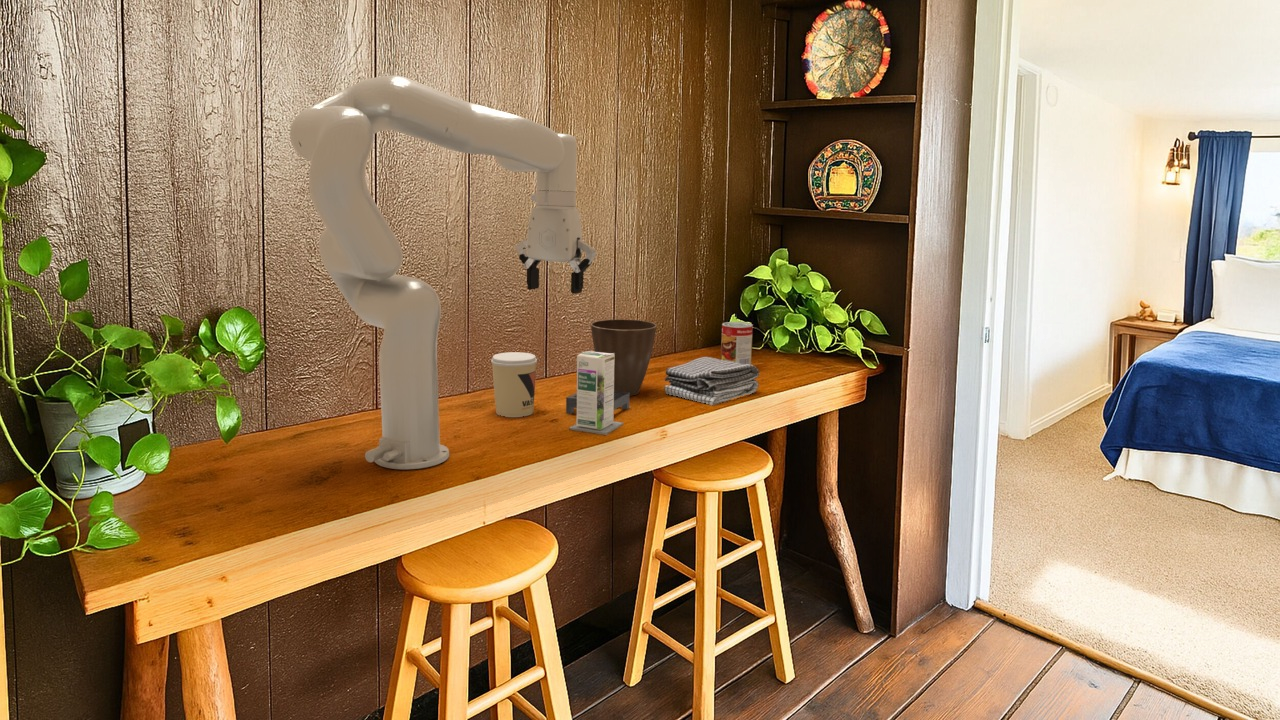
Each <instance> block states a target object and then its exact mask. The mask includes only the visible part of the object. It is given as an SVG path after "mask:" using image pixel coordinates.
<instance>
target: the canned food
mask: <svg viewBox="0 0 1280 720" xmlns="http://www.w3.org/2000/svg"><path fill="white" fill-rule="evenodd" d="M753 326H754V324H752V323H750V322H742V321H729V322H728V321H726V322H722V324H721V343H720V344H721V346H720V360H726V361H733V362H737V363H740V364H751V365H752V350H753V349H752V348H753V329H754V327H753Z"/></svg>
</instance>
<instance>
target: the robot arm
mask: <svg viewBox="0 0 1280 720" xmlns="http://www.w3.org/2000/svg"><path fill="white" fill-rule="evenodd" d="M385 131H386V132H387V131H394V132H397V133H400V134H402V135H403V134H404V135H407V136H409V137H412V138H415V139H418V140H422V141H424V142H427V143H431V144H433V145H436V146H439V147H441V148H444V149H447V150H449V151H454V152H457V153H463V154H468V155H469V154H473V155H484V156H485V155H486V156H492V157H493V156H494V159H495V160H496V162H497V164H498V165H499V166H501V167H502V168H503V169H504V170H507V171H509V172H513V173H514V172H515V173H536V175H535V176H536V177H535V179H536V181H535V183H536V185H535V187H536V189H535V193H532V194H531V195H530V199H531V201H533V202H535V207H532V208H531V210H530V215H529V220H528V227H527V237H526V239H524V240H522V241H520V242H518V243H516V244H515V250H516V252H517V255H518V259H519V260H520V261H521V263H522V264H523V267H524V268H525V269H526V284H527V290H530V291H531V290H537V289H539V288H540V268H539V267H537V266H538V265H539V264H540V263H541V262H543V261H544V262H555V263H566V262H567V263H568V264H569V266H570V267H571V269H573V272H571V276H570V293H571V294H581V293H582V292H583V288H584V278H585V277H584V273H585V272H586V271H587V269H588V268H589V267H590V266H591V265H592V263H593V261H594V259H595V257H596V255H597V249H596V248H594V247H593V246H590V245H589V244H588V243H586V242H585V241H584V240H583V234H582V233H583V231H582V222H581V215H580V211H579V209H578V208H577V206H576V205H577V169H578V165H577V164H578V141H577V139H576V137H575V136H574V135H572V134H569V133H558V132H555V131H554V130H553V129H552V128H550V127H547V126H545V125H543V124H540V123H538V122H536V121H533V120H530V119H528V118H525V117H523V116H520V115H516V114H512V113H510V112H505V111H501V110H498V109H494V108H490V107H489V106H488V107H487V106H484V105H481V104H477V103H472V102H469V101H466V100H464V99H461V98H458V97H456V96H453V95H451V94H448V93H447V92H444V91H441V90H439V89H436V88H434V87H431V86H429V85H426V84H423V83H421V82H419V81H416V80H413V79H411V78H408V77H405V76H402V75H394V74H393V75H385V76H377V77H370V78H366V79H364V80H361V81H359V82H357V83H355V84H353V85H351V86H348V87H347V88H345V89H343V90H341V91H340V92H337V93H334V94H333V95H331V96H330V97H328V98H326V99H324V100H321V101H319V102H317V103H315V104H313V105H311V106H309V107H307V108H305V109H303V110H302V111H301V112H299V114H297V115H296V117H295V118H294V119H293V120H292V123H291V124H290V129H289V138H290V139H289V140H290V142H291V145H292V147H293V150H295V152H296V153H297V154H298V155H299V156H300V157H301V158H303V159H305V160H306V161H308V162H310V166H309V173H308V174H309V175H308V190H309V196H310V199H311V202H312V204H313V207H314V209H315V211H316V213H317V215H318V216H319V218H320V219H321V221H322V223H323V225H324V227H325V228H324V230H323V231H322V233H321V235H320V238H319V243H318V250H319V251H318V252H319V256H320V259H321V261H322V264H323V266H324V268H325V269H326V272H327V274H328V275H329V276H330V278H331V279H332V281H333V283H334V284H335V285H336V287H337V288H338V290H339V291H340V293H341V294H342V296H343V297H344V299H345V300H346V302H347V303H348V305H349V307H351V309H352V311H353V312H354V313H355V315H357V317H358V318H359V319H361V320H362V322H364V323H366V324H369V325H370V326H373V327H376V328H380V329H383V336H382V339H381V344H380V348H379V354H378V371H379V384H380V385H379V387H380V388H379V389H380V407H381V408H380V410H381V411H380V412H381V431H382V435H381V436H382V437H380V438H378V439H379V440H378V441H379V444H378V445H377V447H376V448H372V449H369V450H367V451H366V452H365V454H364V457H365V460H366V462H368V463H373V462H374V463H375V464H377V465H378V466H380V467H382V468H386V469H393V470H416V469H417V470H419V469H425V468H429V467H434V466H437V465H440V464H441V463H444V462H446V461H447V460H448V459H449V457H450V450H449V448H448V447H447V446H445V445H444V444H441V443H440V442H441V441H440V439H441V438H440V414H439V413H440V412H439V410H440V409H439V377H438V373H439V372H438V338H439V337H438V335H439V329H440V323H441V318H442V317H441V316H442V304H441V300H440V297H439V295H438V293H437V291H436V290H435V289H434V287H432V286H431V285H430V284H429V283H427V282H426V281H424V280H422V279H420V278H417V277H411V276H408V275H407V276H406V275H401V274H397V273H398V271H399V270H400V269H401V267H402V264H403V260H404V256H403V250H402V245H401V243H400V242H399V239H398V237H397V236H396V234H395V233H394V231H393V229H392V228H391V226H390V225H389V223H388V222H387V220H386V218H385V217H384V215H383V213H382V212H381V210H380V208H379V206H378V205H377V203H376V202H375V200H374V198H373V196H372V194H371V192H370V190H369V187H368V184H367V178H366V172H367V171H366V169H367V163H368V160H369V156H370V154H371V152H372V149H373V145H374V140H375V139H374V138H375V135H376V134H377V133H378V132H385ZM583 252H584V253H585V256H584V258H583V259H582V256H583Z"/></svg>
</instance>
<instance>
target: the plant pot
mask: <svg viewBox="0 0 1280 720" xmlns="http://www.w3.org/2000/svg"><path fill="white" fill-rule="evenodd" d="M590 329H591V336H592V344H593V350H594V352H601V353H613V354H614V355H615V359H614V391H622V392H630V397H631V396H635V395H638V394H639V393H640V391H641V390H640V389H641V388H642V384H643V382H644V380H645V377H646V374H647V371H648V368H649V364H650V362H651V361H650V360H651V357H652V353H653V348H654V343H655V338H656V337H655V336H656V332H657V324H656V323H654V322H651V321H646V320H640V319H622V318H621V319H620V318H619V319H618V318H617V319H603V320H596V321H593V322H591V323H590Z"/></svg>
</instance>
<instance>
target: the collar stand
mask: <svg viewBox="0 0 1280 720" xmlns="http://www.w3.org/2000/svg"><path fill="white" fill-rule="evenodd" d="M630 397H631V396H630V392H622V391H614V411H615V410H616V409H618V408H620V407H621V409H622V410H629V409H630ZM565 399H566V400H565V413H567V415H572V414H574V413H575V409H577V392H575V393H573V394H571V395H568V396H566V397H565Z"/></svg>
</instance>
